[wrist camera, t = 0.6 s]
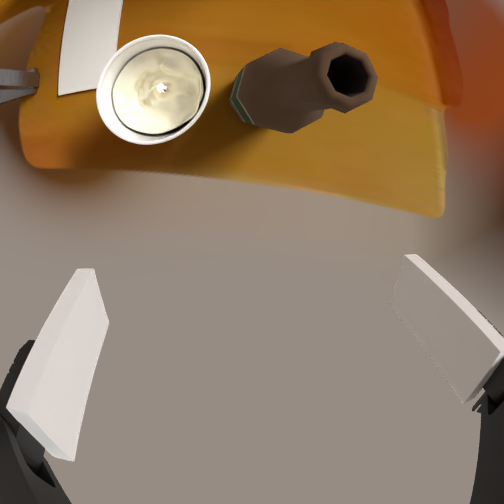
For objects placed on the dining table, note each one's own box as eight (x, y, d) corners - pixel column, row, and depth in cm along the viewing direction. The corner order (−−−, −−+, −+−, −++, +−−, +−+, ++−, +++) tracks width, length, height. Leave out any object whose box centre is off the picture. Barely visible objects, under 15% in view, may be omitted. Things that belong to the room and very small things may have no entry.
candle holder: (220, 70, 30) (227, 49, 19) (194, 143, 34) (188, 157, 23) (144, 52, 27) (117, 27, 17) (120, 125, 31) (83, 132, 20)
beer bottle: (232, 132, 34) (279, 163, 13) (222, 72, 30) (254, 0, 9) (293, 124, 34) (417, 150, 13) (285, 66, 31) (402, 14, 9)
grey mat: (87, -57, 16) (85, -58, 15) (139, -68, 17) (138, -70, 17) (59, 95, 27) (57, 95, 27) (114, 85, 28) (113, 85, 28)
